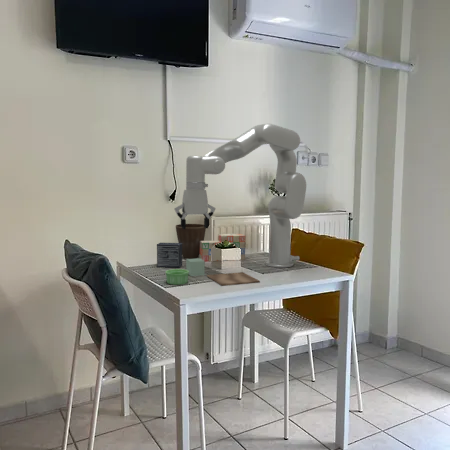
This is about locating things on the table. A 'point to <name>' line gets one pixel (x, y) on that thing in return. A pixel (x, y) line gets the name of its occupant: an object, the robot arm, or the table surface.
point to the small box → (169, 255)
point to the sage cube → (195, 266)
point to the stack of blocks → (232, 238)
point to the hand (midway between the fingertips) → (195, 228)
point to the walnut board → (232, 278)
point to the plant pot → (190, 239)
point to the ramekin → (177, 276)
